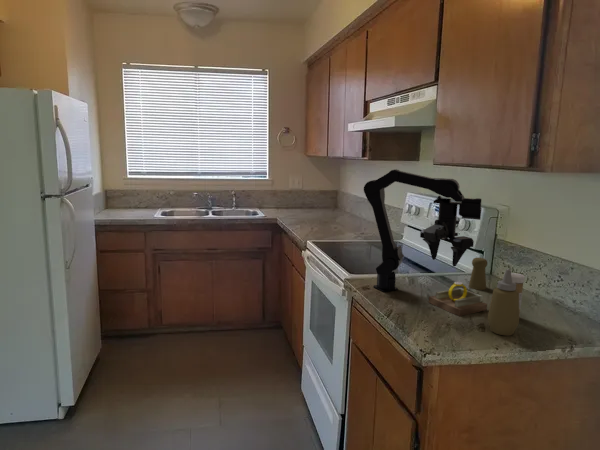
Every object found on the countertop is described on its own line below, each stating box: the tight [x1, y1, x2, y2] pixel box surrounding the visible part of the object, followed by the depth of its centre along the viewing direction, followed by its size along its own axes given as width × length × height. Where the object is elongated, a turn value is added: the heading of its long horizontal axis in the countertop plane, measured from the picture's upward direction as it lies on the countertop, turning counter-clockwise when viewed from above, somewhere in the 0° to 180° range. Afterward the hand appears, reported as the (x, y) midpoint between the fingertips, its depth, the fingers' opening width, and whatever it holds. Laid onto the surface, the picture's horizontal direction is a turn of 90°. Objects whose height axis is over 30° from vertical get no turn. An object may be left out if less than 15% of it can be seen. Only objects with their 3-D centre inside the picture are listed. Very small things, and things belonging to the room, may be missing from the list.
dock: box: [428, 287, 488, 317], centre depth 144 cm, size 13×12×4 cm
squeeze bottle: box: [487, 268, 520, 337], centre depth 124 cm, size 8×8×18 cm
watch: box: [448, 281, 468, 301], centre depth 144 cm, size 6×3×6 cm, turn 105°
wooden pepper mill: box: [468, 257, 488, 291], centre depth 163 cm, size 6×6×11 cm
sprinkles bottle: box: [511, 272, 525, 319], centre depth 135 cm, size 5×5×13 cm
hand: (443, 262), depth 151 cm, fingers open, 9 cm apart
